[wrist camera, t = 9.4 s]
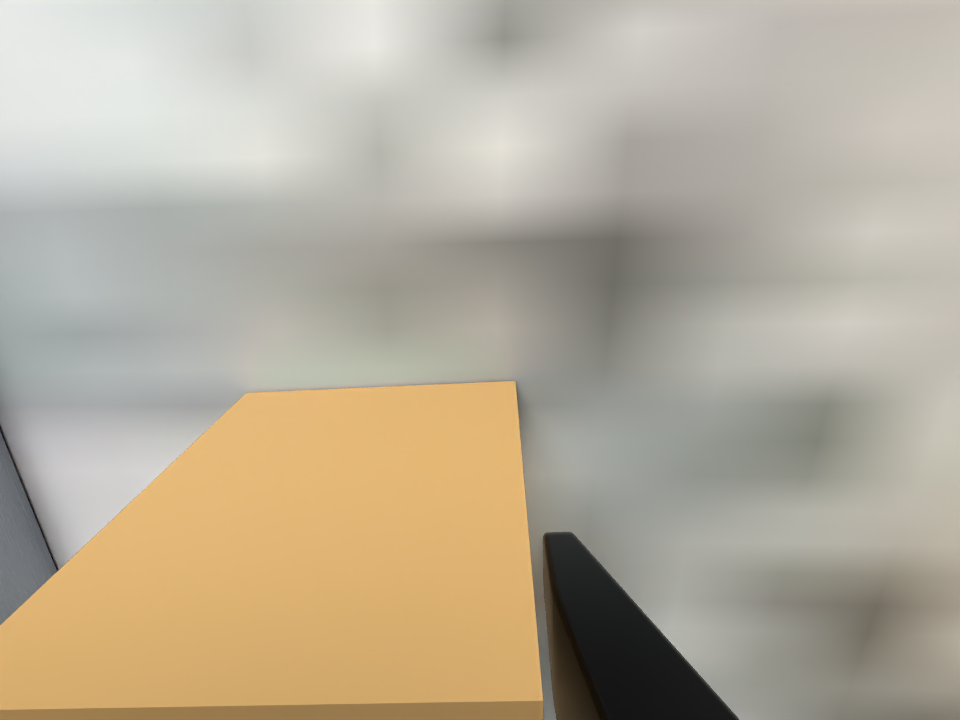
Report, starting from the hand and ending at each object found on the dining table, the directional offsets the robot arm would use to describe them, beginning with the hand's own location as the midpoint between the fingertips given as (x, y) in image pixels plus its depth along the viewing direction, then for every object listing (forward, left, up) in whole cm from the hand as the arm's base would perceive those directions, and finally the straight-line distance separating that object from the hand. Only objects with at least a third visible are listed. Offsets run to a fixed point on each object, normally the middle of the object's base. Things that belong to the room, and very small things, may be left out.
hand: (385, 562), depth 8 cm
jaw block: (0, 0, -1) cm, 1 cm away
